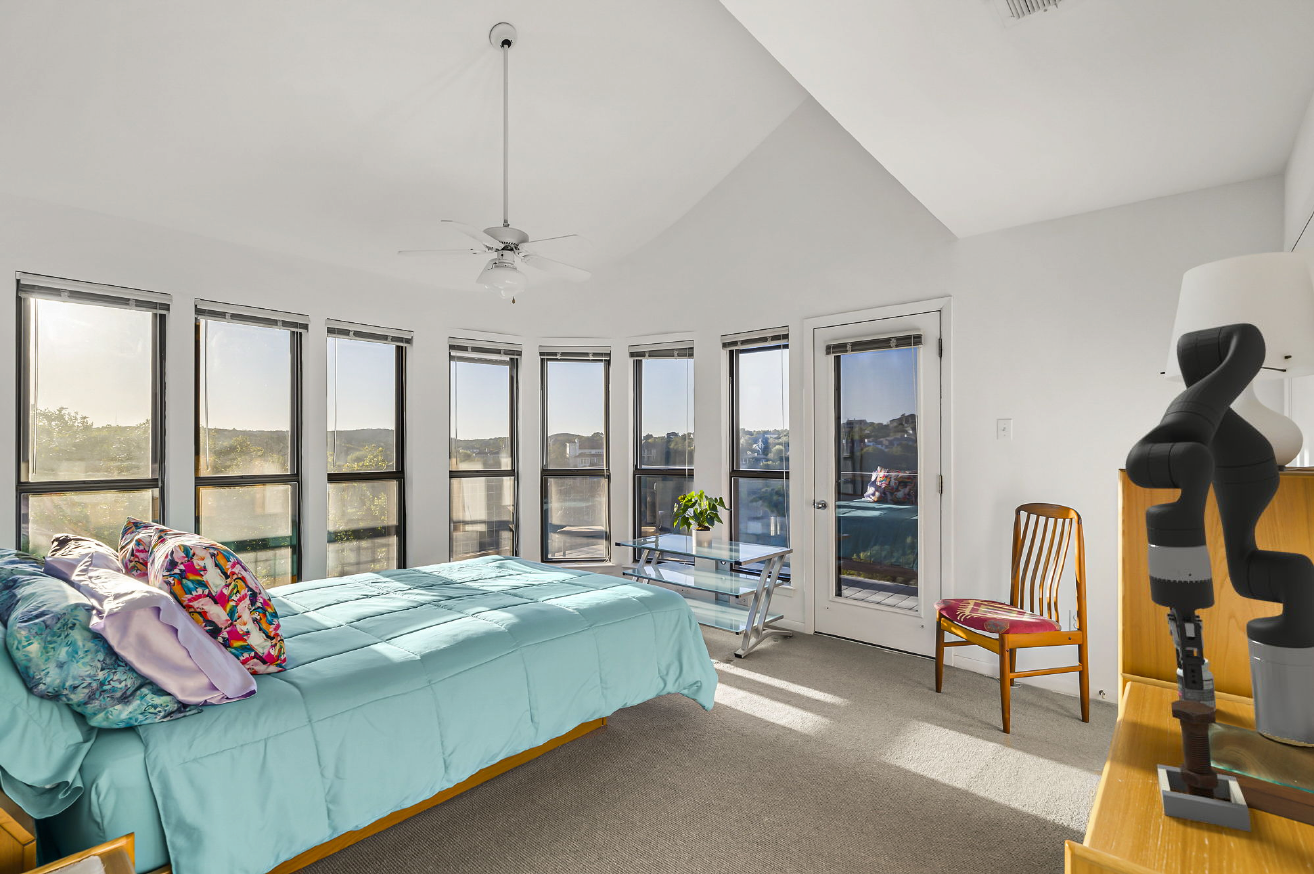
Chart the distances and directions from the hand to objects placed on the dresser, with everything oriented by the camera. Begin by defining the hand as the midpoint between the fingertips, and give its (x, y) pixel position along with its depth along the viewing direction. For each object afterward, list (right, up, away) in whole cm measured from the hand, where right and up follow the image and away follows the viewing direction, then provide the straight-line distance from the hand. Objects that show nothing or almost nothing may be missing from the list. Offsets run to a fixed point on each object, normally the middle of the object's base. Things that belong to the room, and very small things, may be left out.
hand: (1190, 678), depth 98 cm
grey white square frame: (+2, -19, 0) cm, 19 cm away
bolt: (+2, -19, 0) cm, 20 cm away
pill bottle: (+27, -18, +31) cm, 45 cm away
